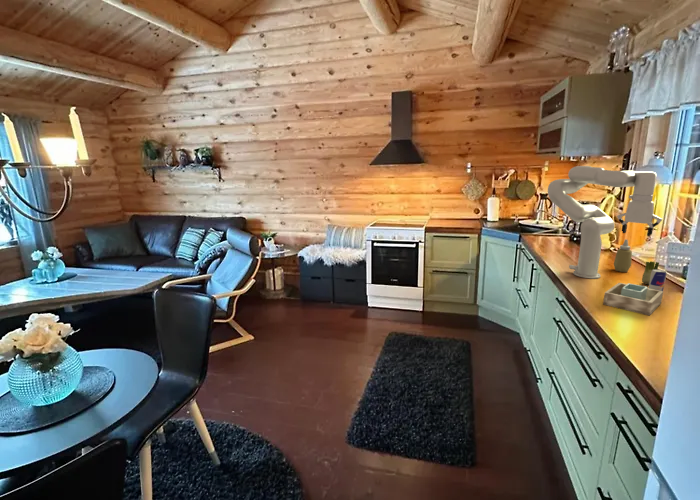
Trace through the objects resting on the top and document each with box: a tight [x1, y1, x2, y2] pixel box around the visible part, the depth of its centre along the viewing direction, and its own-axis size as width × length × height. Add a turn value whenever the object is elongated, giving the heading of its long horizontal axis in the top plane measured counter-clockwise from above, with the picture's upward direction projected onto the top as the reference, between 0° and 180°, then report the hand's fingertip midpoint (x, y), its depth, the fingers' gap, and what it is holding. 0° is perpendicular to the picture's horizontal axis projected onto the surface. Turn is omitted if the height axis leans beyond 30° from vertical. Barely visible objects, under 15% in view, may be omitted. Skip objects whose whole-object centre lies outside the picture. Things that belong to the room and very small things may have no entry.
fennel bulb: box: [641, 261, 660, 286], centre depth 190 cm, size 6×5×12 cm
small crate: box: [621, 282, 649, 300], centre depth 165 cm, size 7×10×6 cm
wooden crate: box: [602, 282, 664, 317], centre depth 165 cm, size 16×20×6 cm
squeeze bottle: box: [613, 239, 633, 273], centre depth 213 cm, size 8×8×18 cm
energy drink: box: [648, 268, 667, 292], centre depth 174 cm, size 5×5×12 cm
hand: (636, 234), depth 182 cm, fingers open, 9 cm apart
